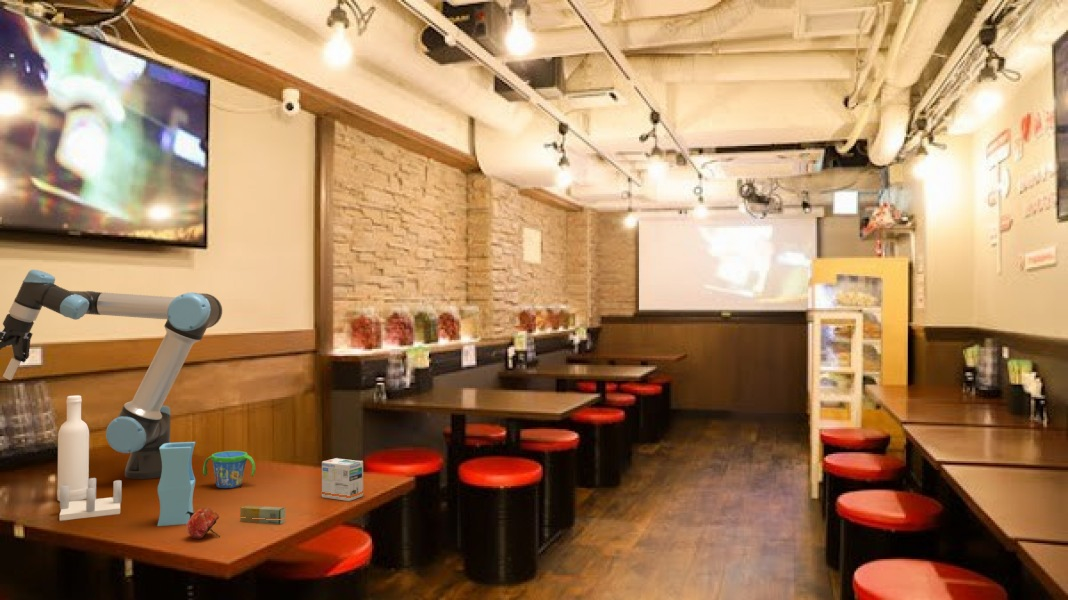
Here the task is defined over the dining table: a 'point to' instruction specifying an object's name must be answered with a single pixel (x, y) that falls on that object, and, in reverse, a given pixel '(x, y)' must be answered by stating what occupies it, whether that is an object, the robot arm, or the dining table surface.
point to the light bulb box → (342, 478)
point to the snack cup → (229, 468)
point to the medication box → (262, 514)
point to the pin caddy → (90, 502)
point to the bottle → (73, 452)
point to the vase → (176, 483)
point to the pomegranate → (201, 522)
